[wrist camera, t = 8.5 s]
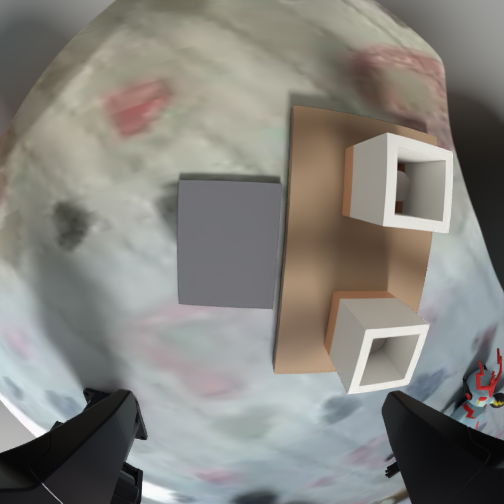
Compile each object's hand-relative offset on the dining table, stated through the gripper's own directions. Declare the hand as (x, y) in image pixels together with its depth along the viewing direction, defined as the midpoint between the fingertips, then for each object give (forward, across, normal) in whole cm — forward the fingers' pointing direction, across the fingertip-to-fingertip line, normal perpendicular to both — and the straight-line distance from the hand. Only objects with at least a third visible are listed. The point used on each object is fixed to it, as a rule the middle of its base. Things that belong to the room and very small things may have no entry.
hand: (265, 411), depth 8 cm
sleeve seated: (+11, -8, +2) cm, 14 cm away
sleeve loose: (+11, -8, -8) cm, 16 cm away
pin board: (+12, -8, -3) cm, 15 cm away
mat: (+12, +2, -3) cm, 13 cm away
